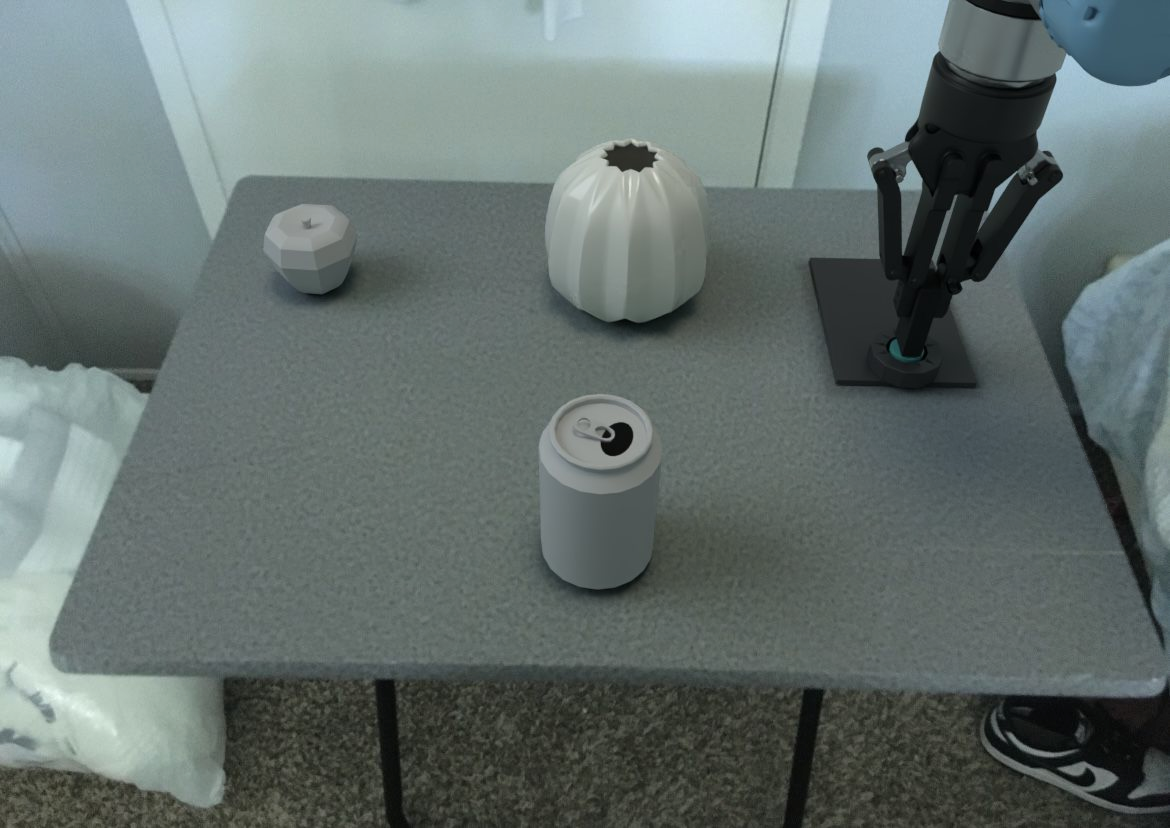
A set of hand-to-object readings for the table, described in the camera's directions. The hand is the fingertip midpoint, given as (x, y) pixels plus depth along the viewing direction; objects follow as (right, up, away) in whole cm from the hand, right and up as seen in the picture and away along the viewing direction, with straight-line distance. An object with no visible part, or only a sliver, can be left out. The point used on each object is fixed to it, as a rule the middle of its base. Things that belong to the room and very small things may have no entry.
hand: (907, 344), depth 81 cm
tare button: (0, -1, +1) cm, 2 cm away
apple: (-49, +6, +9) cm, 50 cm away
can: (-25, -15, -11) cm, 31 cm away
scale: (0, +2, +6) cm, 6 cm away
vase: (-22, +5, +8) cm, 24 cm away
